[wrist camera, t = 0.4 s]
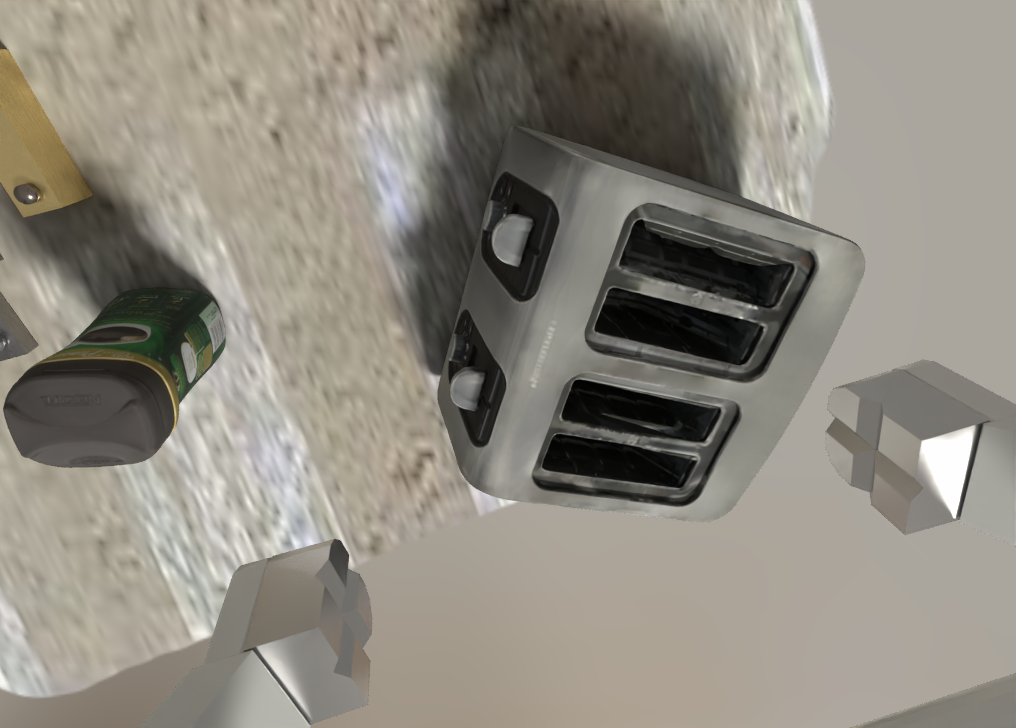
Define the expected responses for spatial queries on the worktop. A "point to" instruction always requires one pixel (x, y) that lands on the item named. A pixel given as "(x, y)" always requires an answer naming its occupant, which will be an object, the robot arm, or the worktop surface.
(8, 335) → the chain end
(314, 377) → the worktop surface
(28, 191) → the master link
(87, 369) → the coffee jar
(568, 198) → the toaster
